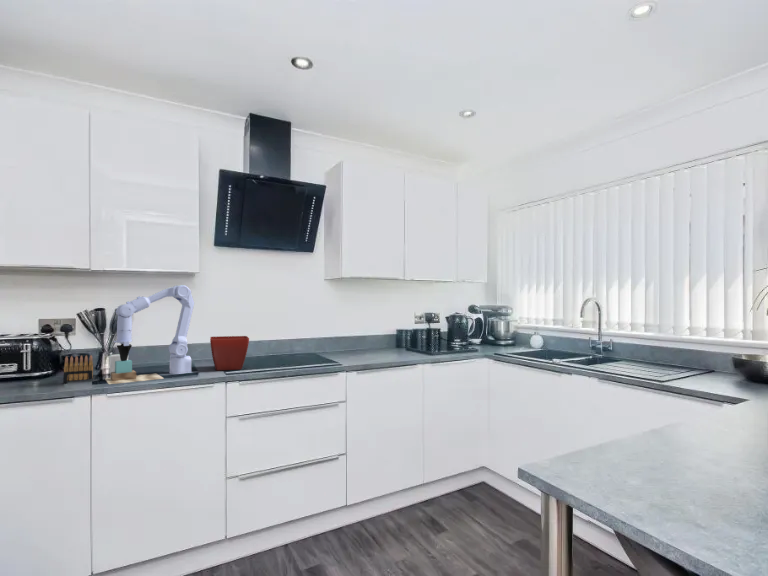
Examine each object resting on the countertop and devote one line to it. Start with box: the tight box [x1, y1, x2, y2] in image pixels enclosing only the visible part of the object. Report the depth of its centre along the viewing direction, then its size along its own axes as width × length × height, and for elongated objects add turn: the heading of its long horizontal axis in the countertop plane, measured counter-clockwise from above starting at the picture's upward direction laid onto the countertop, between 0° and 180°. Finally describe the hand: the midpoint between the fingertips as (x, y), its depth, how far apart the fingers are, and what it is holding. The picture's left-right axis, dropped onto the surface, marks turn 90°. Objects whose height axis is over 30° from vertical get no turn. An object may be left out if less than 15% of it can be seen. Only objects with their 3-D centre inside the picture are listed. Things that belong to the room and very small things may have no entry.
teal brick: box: [115, 359, 133, 373], centre depth 185 cm, size 6×4×5 cm
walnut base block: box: [110, 369, 137, 381], centre depth 185 cm, size 9×7×3 cm
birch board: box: [104, 373, 165, 385], centre depth 186 cm, size 21×17×1 cm
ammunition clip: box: [62, 354, 94, 385], centre depth 182 cm, size 11×2×12 cm, turn 119°
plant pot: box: [209, 335, 250, 371], centre depth 220 cm, size 19×19×17 cm
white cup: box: [108, 353, 129, 376], centre depth 199 cm, size 8×8×10 cm
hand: (123, 360), depth 186 cm, fingers closed
